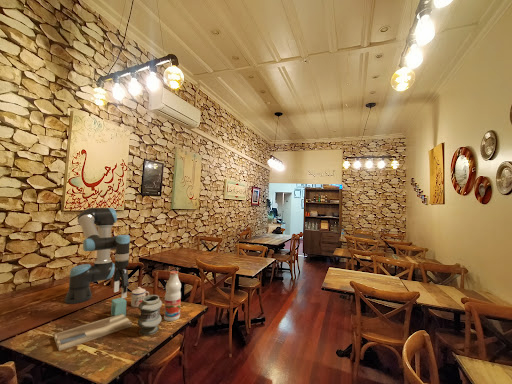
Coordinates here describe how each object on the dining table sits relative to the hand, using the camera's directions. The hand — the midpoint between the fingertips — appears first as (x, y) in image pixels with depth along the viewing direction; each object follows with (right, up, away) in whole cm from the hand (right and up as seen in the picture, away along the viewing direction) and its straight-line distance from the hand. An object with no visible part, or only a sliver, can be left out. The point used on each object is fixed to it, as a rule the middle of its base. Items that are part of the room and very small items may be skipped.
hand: (120, 294), depth 145 cm
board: (-3, -12, -19) cm, 22 cm away
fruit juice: (+33, -14, -1) cm, 35 cm away
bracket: (-1, -13, 0) cm, 13 cm away
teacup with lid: (+4, -14, +17) cm, 22 cm away
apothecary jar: (+25, -13, -16) cm, 33 cm away
